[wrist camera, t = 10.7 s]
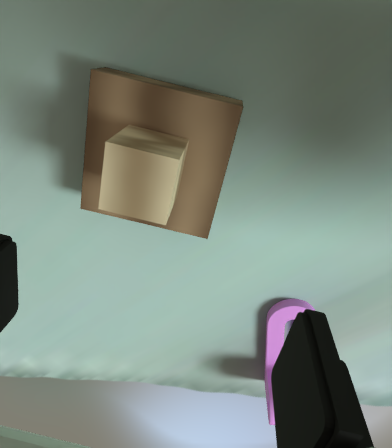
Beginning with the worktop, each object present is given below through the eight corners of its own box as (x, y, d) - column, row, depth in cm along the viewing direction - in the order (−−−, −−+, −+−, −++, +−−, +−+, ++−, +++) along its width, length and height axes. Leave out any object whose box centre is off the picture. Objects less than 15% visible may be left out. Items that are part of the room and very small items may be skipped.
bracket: (309, 380, 44) (321, 434, 38) (264, 379, 45) (269, 432, 39) (318, 298, 39) (335, 345, 32) (267, 297, 39) (274, 344, 33)
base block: (241, 100, 31) (243, 106, 27) (209, 220, 36) (207, 238, 32) (107, 67, 30) (90, 69, 27) (95, 192, 36) (80, 208, 32)
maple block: (189, 139, 28) (179, 159, 23) (177, 195, 31) (165, 225, 25) (129, 124, 28) (105, 141, 23) (121, 181, 31) (98, 209, 25)
